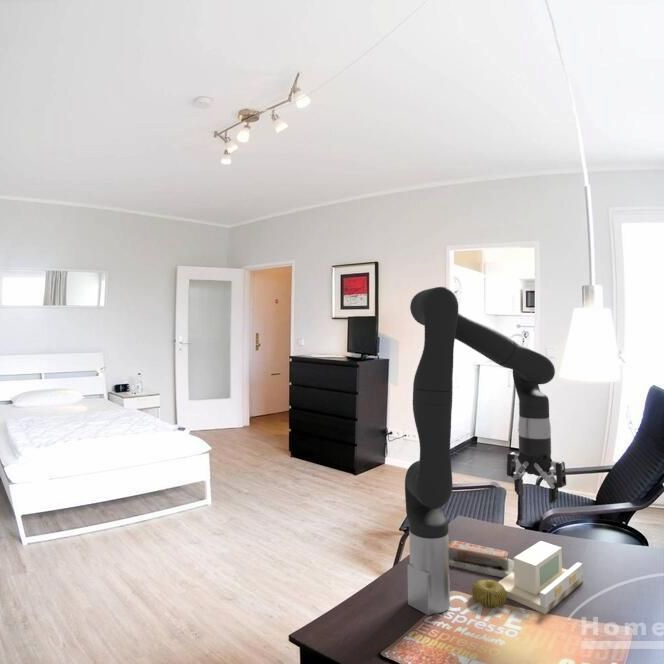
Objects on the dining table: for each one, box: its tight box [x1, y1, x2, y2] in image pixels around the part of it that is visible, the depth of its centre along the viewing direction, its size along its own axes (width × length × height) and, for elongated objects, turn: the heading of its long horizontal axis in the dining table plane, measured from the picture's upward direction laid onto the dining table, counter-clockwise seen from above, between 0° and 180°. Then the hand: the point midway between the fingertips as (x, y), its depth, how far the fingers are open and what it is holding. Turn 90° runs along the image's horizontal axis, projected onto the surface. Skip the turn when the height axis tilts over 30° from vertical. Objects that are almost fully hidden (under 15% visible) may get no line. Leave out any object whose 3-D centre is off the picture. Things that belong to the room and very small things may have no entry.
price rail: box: [540, 561, 584, 608], centre depth 113 cm, size 21×1×3 cm, turn 131°
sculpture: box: [471, 578, 508, 609], centre depth 112 cm, size 8×4×8 cm
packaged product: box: [449, 540, 514, 579], centre depth 130 cm, size 18×5×10 cm
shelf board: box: [497, 567, 584, 615], centre depth 118 cm, size 21×13×2 cm, turn 131°
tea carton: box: [513, 540, 563, 595], centre depth 118 cm, size 6×14×7 cm, turn 130°
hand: (535, 498), depth 118 cm, fingers open, 8 cm apart
